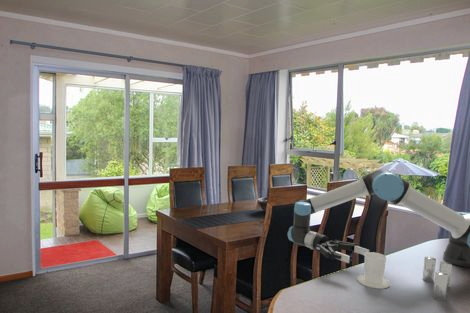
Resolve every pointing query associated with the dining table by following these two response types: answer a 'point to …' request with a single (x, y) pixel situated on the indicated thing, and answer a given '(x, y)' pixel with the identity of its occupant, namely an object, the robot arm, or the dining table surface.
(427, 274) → the cylinder
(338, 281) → the dining table surface
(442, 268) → the cylinder
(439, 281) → the cylinder
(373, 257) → the white cup
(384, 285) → the coaster
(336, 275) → the dining table surface
